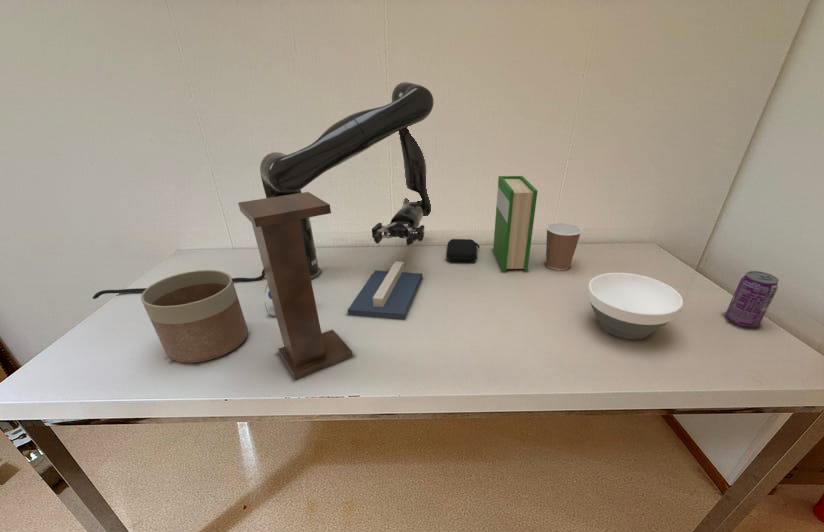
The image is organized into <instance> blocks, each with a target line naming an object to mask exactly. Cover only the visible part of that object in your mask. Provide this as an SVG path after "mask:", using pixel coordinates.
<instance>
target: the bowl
mask: <svg viewBox="0 0 824 532" xmlns="http://www.w3.org/2000/svg"><path fill="white" fill-rule="evenodd" d="M587 297H588V300H589V303H590V306H591V308H592V309H593V313H594V315H595V317H596V319H598V322H599V326H600V327H601V328H602V329H603V330H604V331H606V332H607V333H609V334H610V335H612V336H615V337H618V338H621V339H626V340H643V339H645V338H647V337H648V336H650V335H651V334H653V333H656V332H657V331H659V330H660V329H661V328H662V327H665V326H666V325H668V324H669V323H670V322H671V321H672V320H674V319H675V318H676V317H677V316H678V315H679V313H680V312H681V310H682V309H683V306H684V300H683V297H682V295H681V294H680V293H679V291H677V290H676V289H675V288H674V287H672V286H670V285H669V284H667V283H665V282H662V281H661V280H658V279H655V278H652V277H649V276H646V275H641V274H636V273H629V272H607V273H602V274H598V275H597V276H594V277H593V278H591V279H590V281H589V282H588V287H587Z"/></svg>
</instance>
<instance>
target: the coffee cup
mask: <svg viewBox="0 0 824 532" xmlns="http://www.w3.org/2000/svg"><path fill="white" fill-rule="evenodd" d="M545 229H546V242H545V243H546V247H545V260H546V267H548V268H550V269H552V270H555V271H564V270H567V269H569V268H570V266H571V264H572V261H573V258H574V254H575V252H576V249H577V245H578V242H579V239H580V236H581V234H582V233H583V229H582V228H581V227H580V226H578V225H576V224H572V223H569V222H568V223H567V222H552V223H549V224H547V225H546V227H545Z"/></svg>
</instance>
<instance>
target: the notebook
mask: <svg viewBox="0 0 824 532" xmlns="http://www.w3.org/2000/svg"><path fill="white" fill-rule="evenodd" d="M389 271H390V270H378V269H377V270H376V269H374V271H373V273H372V274H371V275H370V277H369V278H368V280H367V281H366V283H365V284H364V285H363V287H362V288H361V290H359V292H358V294H357V296H356V297H355V298H354V300H353V301H352V303H351V304H350V306H349V307H348V309H347V314H348V316H361V317H370V318H384V319H397V320H405V318H406V316H407V313H408V312H409V309H410V307H411V305H412V302H413V300H414V299H415V296H416V293H417V291H418V288H419V287H420V284H421V281H422V280H423V273H420V272H405V271H403V272H402V274H401V276H400V278H399V279H398V281H397V283H396V285H395V287H394V289H393V290H392V292H391V294H390V296H389V298H388V300H387V301H386V303H385V305H384V307H374V306H373V297H374V295H375V293H376V292H377V290H378V289H379V287H380V285H381V284H382V282H383V280H384V279H385V277H386V276H387V274H388V272H389Z"/></svg>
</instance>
